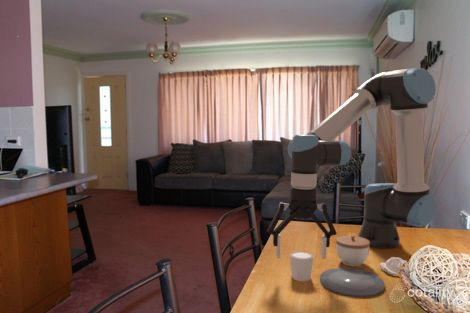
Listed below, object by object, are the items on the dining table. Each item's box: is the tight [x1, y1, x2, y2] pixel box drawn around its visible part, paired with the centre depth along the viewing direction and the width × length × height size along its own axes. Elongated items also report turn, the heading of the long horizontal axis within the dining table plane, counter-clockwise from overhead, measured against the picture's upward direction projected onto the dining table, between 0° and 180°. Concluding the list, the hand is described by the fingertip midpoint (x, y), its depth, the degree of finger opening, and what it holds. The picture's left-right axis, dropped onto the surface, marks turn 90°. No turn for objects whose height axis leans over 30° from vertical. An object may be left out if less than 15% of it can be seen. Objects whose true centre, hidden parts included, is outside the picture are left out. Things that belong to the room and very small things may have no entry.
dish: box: [319, 267, 385, 298], centre depth 115 cm, size 18×18×1 cm
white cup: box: [289, 251, 314, 282], centre depth 119 cm, size 7×7×7 cm
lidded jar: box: [335, 234, 371, 267], centre depth 131 cm, size 11×11×9 cm
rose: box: [379, 256, 408, 277], centre depth 125 cm, size 10×4×10 cm
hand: (300, 257), depth 119 cm, fingers open, 13 cm apart
